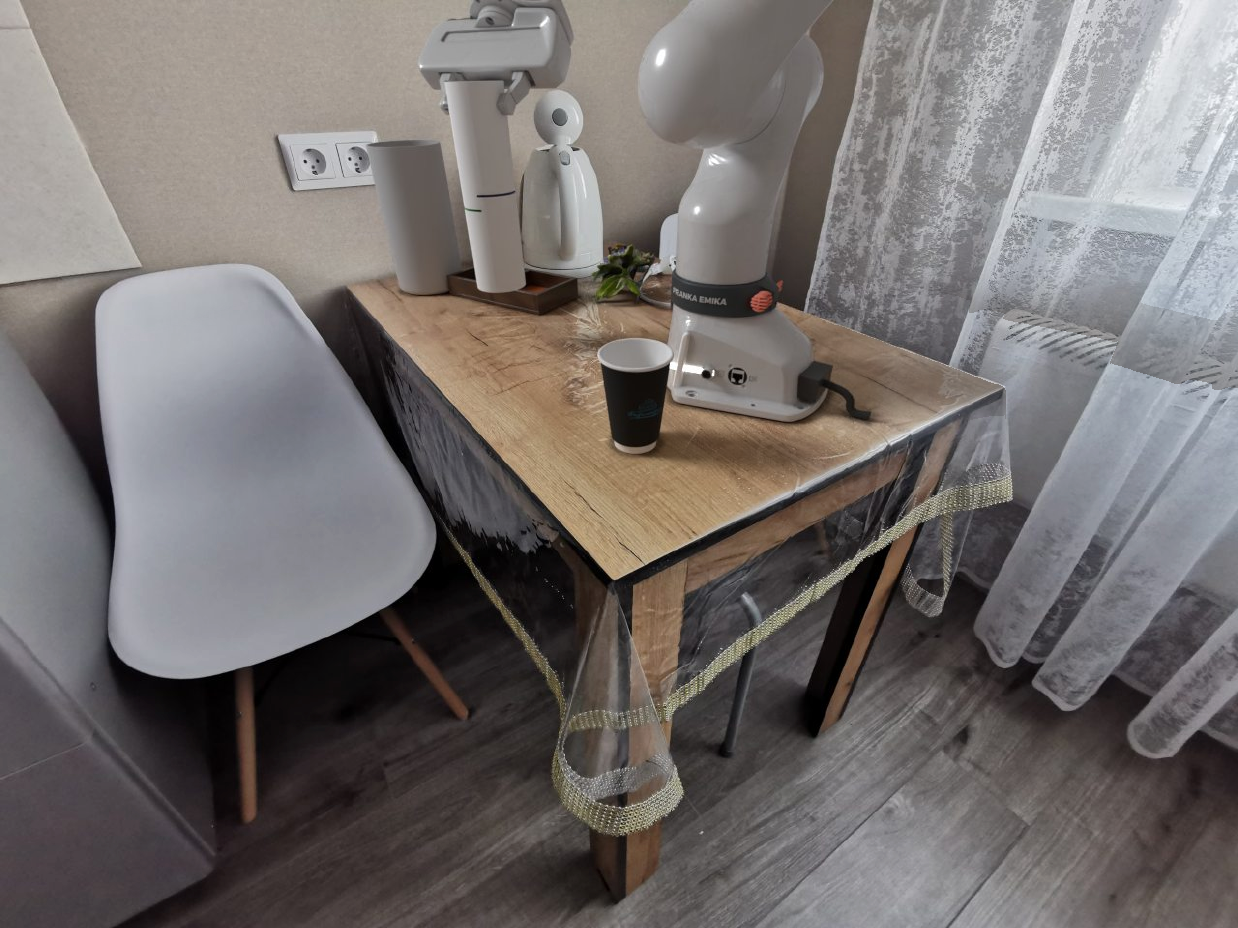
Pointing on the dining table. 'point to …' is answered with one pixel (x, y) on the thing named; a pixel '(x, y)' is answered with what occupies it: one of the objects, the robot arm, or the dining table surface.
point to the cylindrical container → (487, 183)
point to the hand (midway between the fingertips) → (475, 111)
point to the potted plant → (621, 271)
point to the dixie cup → (635, 390)
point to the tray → (519, 291)
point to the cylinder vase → (416, 213)
